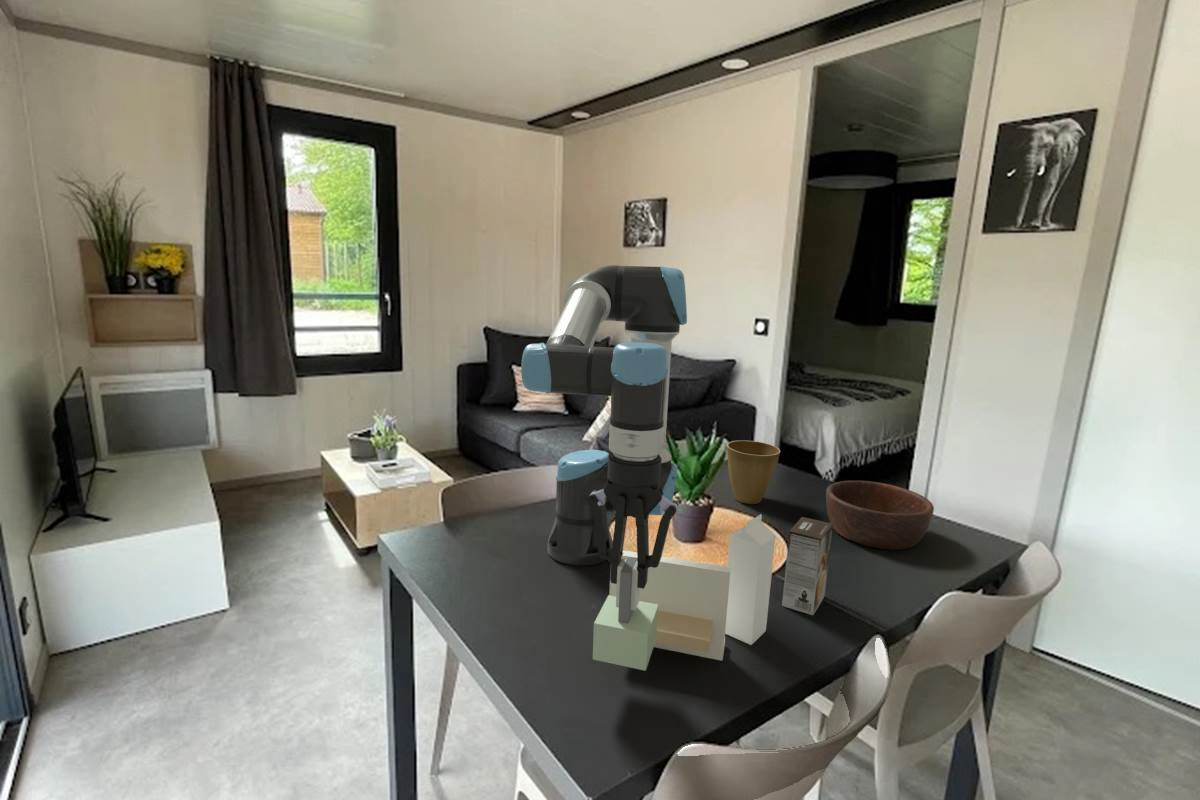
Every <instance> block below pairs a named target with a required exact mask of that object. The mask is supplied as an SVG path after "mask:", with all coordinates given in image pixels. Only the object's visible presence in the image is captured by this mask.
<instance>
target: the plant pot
mask: <svg viewBox="0 0 1200 800" xmlns="http://www.w3.org/2000/svg"><path fill="white" fill-rule="evenodd" d="M780 453H781V450H780V448H779V447H778V446H776V445H773V444H770V443H766V442H761V441H756V440H732V441H729V442H727V444H726V455H727V456H726V457H727V465H728V474H729V480H730V484H731V488H732V492H733V495H734V498H735V500H736V501H738V502H739V503H743V504H746V505H755V504H759V503H761V502H762V499H763V498H764V496H765V495H766V492H767V490H768V488H769V486H770V484H771V481H772V478H773V476H774V473H775V470H776V469H777V464H778V461H779V457H780Z"/></svg>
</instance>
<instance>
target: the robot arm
mask: <svg viewBox="0 0 1200 800" xmlns="http://www.w3.org/2000/svg"><path fill="white" fill-rule="evenodd" d="M686 293H687V292H686V282H685V276H684V273H683V271H682V270H680V269H679V268H675V267H667V266H661V265H660V266H641V265H640V266H639V265H636V266H635V265H618V264H617V265H615V264H614V265H613V264H612V265H604V266H600V267H598V268H595V269H592V270H590V271H587V272H586V273H585V274H583V275H581V276H579V277H578V278H576V279H575V280H574V281H573V283H571V284H570V286H569V287H568V288H567V291H566V292H565V295H564V297H563V310H562V311H561V314H560V316H559V318H558V319H557V321H556V323H555V326H554V328H553V330H552V332H551V333H550V335H549V337H548V338H547V339H548V340H547V341H546V342H545V343H544V342H540V343H530V344H528V345H526V346H525V348H524V350H523V353H522V357H521V364H520V365H521V367H520V368H521V373H520V374H521V382H522V385H523V387H524V388H525V389H527V391H529V392H536V393H537V392H539V393H545V394H565V395H566V394H567V395H589V396H590V395H591V396H599V397H601V396H603V397H610V418H609V419H610V420H609V429H608V430H609V434H608V435H609V436H608V450H609V451H610V453H609V452H607V451H605V450H600V449H585V450H582V449H581V450H577V451H574V452H569V453H567V454H565V455H563V456H562V457H560V459H559V460H558V463H557V469H556V476H555V480H556V490H555V491H556V495H555V499H556V501H555V519H554V523H553V526H552V528H551V530H550V533H549V536H548V539H547V554H548V556H549V557H550V558H552V559H553V560H554V561H557V562H559V563H562V564H566V565H572V566H592V565H598V564H601V563H603V562H605V561H608V562H609V563H610V571H611V576H610V575H609V581H610V580H611V583H614V584H617V590H616V607H618V608H619V592H620V572H621V570H622V568H623V566H624V564H625V562H626V560H627V559H622V560H621V557H622V555H623V550H624V544H625V537H626V530H627V528H626V527H627V522H628V521H627V520H628V517H632V518H634V519H635V526H636V527H635V528H636V550H637V551H636V552H637V561H636V563H635V565H634V567H633V569H632V589H631V608H630V610H634V611H635V610H636V608H637V605H638V603H639V597H640V588H643V589H644V587H645V585H646V583H647V577H648V568H649V567H653V568H656V567H658V565H659V562H660V560H661V557H663V552H664V549H665V544H666V540H667V536H668V532H669V529H670V528H669V527H670V524H671V520H672V518H674V516H675V515H676V513H677V510H678V508H679V502H678V501H676V500H673V498H674V493H675V489H676V483H677V482H676V481H677V476H678V464H676V463H674V462H672V454H671V453H670V452H669V451H668V450H667V449H666V440H667V439H666V437H667V422H668V408H669V407H668V405H669V390H670V389H669V388H670V375H671V360H672V359H671V358H672V344H673V343H672V342H673V340H674V339H675V338H676V337H677V336H678V335H679V334H680V327H681V326H684V325H686V324H687V323H688V316H687V315H688V314H687V295H686ZM604 321H607V322H624V332H626V334H627V335H628V336H629V338H630V339H631V342H630V341H629V342H627V341H626V342H622V343H618V344H616V346H614V347H607V346H606V347H605V346H594V344H595V341H596V338H597V335H598V333H599V329H600V325H601V324H602V323H604ZM608 512H611V513H615V515H614V528H613V537H612V534H611V531H610V527H609V525H608V523H609V522H608V516H607V515H608ZM650 516H662V517H661V518H660V522H659V525H658V527H657V528H658V529H657V532H656V537H655V541H654V546H653V549H652V553H651V554H650V544H649V542H650V540H649V538H650V537H649V535H650V534H649V517H650ZM649 554H650V555H649Z"/></svg>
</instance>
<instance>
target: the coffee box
mask: <svg viewBox="0 0 1200 800" xmlns="http://www.w3.org/2000/svg"><path fill="white" fill-rule="evenodd" d="M788 533H789V535H788V542H787V543H788V544H787V552H786V553H787V554H786V562H785V572H784V583H783V584H784V585H783V590H782V601H781V606H782V607H785V608H788V609H790V610H794V611H797V612H801V613H803V614H807V615H810V616H814V615H815V613H816V612H817V610H818V608H819V607H820V605H821V604H822V602H823V600H824V598H825V595H826V587H827V586H826V585H827V578H828V571H829V569H828V568H829V561H830V552H831V545H832V535H833V524H832V523H830V522H826V521H822V520H818V519H813V518H808V517H803V516H801V517H800V518H799V520H798V521H796V523H795V524H794V526H793V527H792V528H791V529H790V530H789V532H788Z"/></svg>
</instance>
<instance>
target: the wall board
mask: <svg viewBox="0 0 1200 800" xmlns="http://www.w3.org/2000/svg"><path fill="white" fill-rule="evenodd" d="M649 555H651V554H650V553H649ZM628 556H629V557H635V558H637V551H636V552H635V551H630V550H624V549H623V555H622V557H621V560H622V559H627V558H628ZM609 571H610V574H609V577H610V576H611V570H609ZM730 573H731V567H727V566H723V565H717V564H712V563H705V562H699V561H693V560H686V559H680V558H675V557H668V556H662V557H661V560H660V562H659V565H658V567H656V568H653V567H649V568H648V577H647V583H646V585H645V587H644V589H643V588H640V597H639V601H642V602H648V603H653V604H658V619H657V635H656V641H655V644H654V647H653V648H657V649H660V650H661V649H662V650H667V651H671V652H672V651H673V652H677V653H683V654H687V655H691V656H695V657H696V656H698V657H701V658H707V659H711V660H716V661H723V659H724V653H725V652H724V651H725V645H726V634H725V630H726V618H727V607H728V596H729V584H730ZM616 590H617V584H614V583H611V580H610V579H609V594H608V595H610V596H615V597H616Z"/></svg>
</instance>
